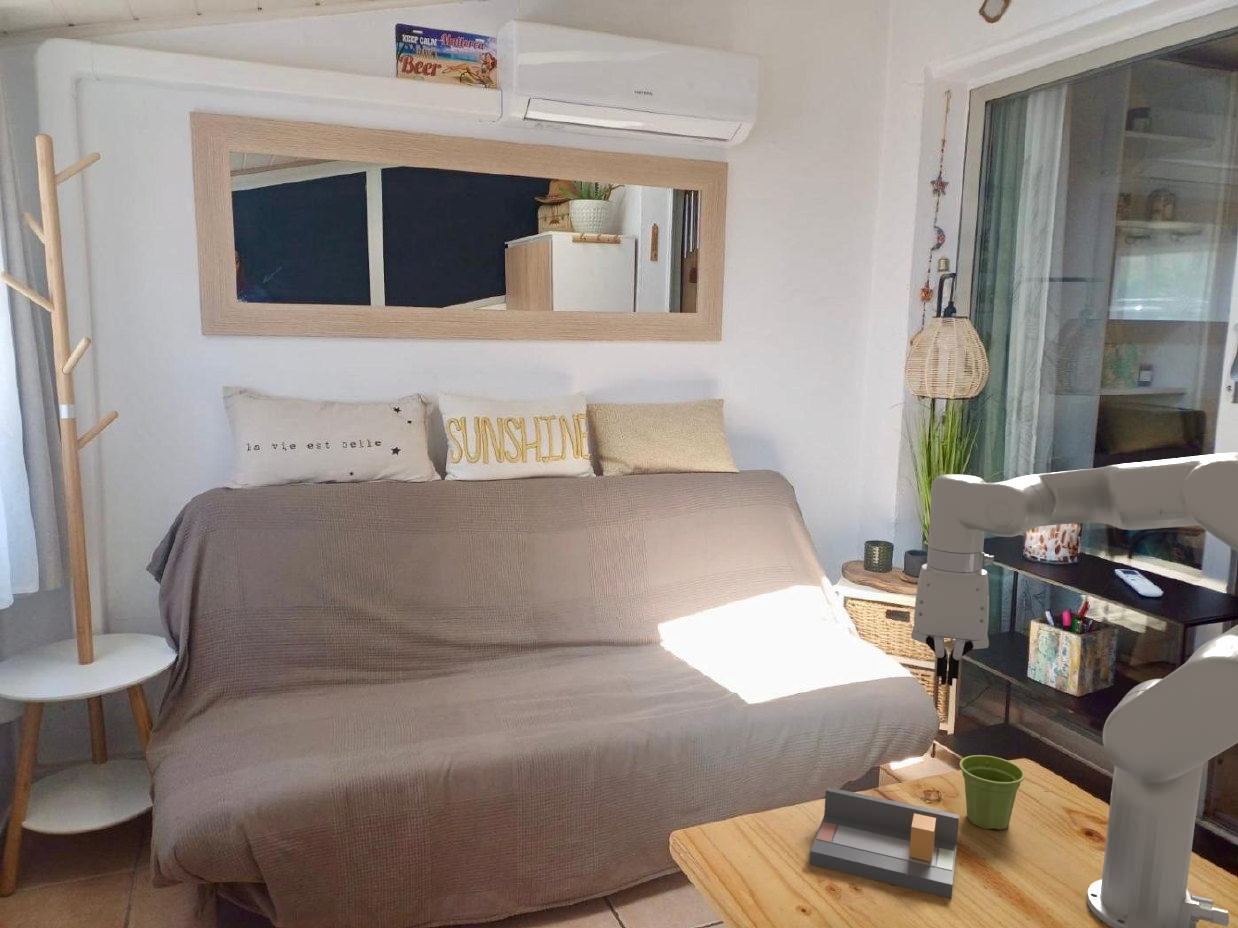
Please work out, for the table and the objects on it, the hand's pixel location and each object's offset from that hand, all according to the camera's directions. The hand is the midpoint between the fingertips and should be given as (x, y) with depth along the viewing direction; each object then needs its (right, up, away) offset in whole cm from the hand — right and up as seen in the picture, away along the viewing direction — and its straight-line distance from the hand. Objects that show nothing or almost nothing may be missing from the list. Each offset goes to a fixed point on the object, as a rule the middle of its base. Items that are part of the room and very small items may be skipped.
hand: (946, 681), depth 135 cm
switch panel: (-10, -25, -3) cm, 27 cm away
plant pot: (+9, -24, +8) cm, 27 cm away
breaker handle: (-5, -23, -5) cm, 24 cm away
